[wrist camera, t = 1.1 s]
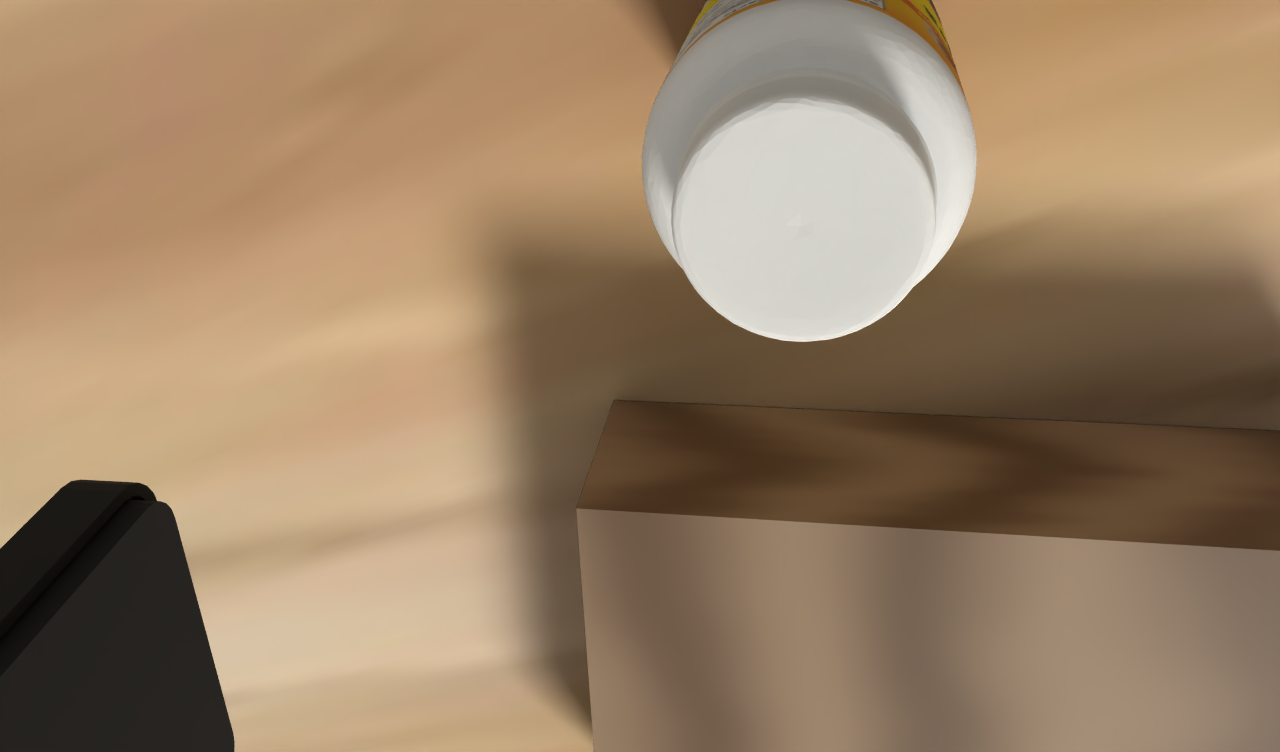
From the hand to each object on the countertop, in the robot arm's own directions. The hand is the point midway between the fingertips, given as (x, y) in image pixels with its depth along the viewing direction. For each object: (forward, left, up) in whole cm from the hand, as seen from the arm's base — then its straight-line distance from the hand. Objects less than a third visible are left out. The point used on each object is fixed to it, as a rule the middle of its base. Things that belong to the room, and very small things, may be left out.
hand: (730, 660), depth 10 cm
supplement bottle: (0, 0, -20) cm, 20 cm away
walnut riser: (-4, +16, -20) cm, 26 cm away
